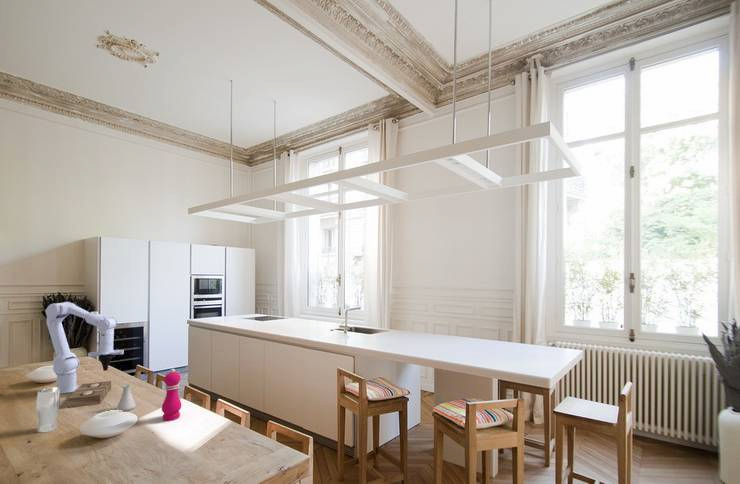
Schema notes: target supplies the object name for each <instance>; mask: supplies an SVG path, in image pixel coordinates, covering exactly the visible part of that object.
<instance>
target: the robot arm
mask: <svg viewBox="0 0 740 484" xmlns="http://www.w3.org/2000/svg"><path fill="white" fill-rule="evenodd" d="M70 314H71V315H74V316H77V317H79V318H82V319H85V322H86V323H87V324H90V325H91V326H94V327H97V329H98V331H99V348H98V349H99V351H92V352H91V351H90V352H88V353H87V358H91V357H92V358H93V357H98V360H99V361H100V364H101V366H102V370H103V371H108V370H109V365H110V363H111V360H112V358H113V357H114V355H115V356H116V355H124V353H125V352H124V351H125V350H124V349H114V338H115V337H114V336H115V328H116V327H117V325H118V324H117V323H118V322H117V319H116V318H114V317H112V316H110V317H108V316H107V315H102V314H100V313H99V312H98V311H91V312H90V311H88V310H86V309H83V308H82V307H80V306H78V305H76V304H75V303H72V302H70V301H64V302H59V303H51V304H49V305H48V306H47V308H46V309H45V315H46V325H47V329H48V333H49V337H50V340H51V342H52V346H53V349H54V352H55V355H56V356H55V358H54V359H53V360H52V363H53V366H52V370H53V372H54V374H55V376H56V384H55V385H56V386H55V387H59V388H60V395H61V394H69V393H70V394H71V393H74V392H75V391H76V390H77V389H78V388H79V387H80V385H77V379H78V378H77V373H76V372H77V369H78V368H80V359H79V358H78V357H77V355H76V353H73V352H72V351H71V349H70V346H69V343H68V341H67V337H66V336H67V335H66V333H65V330H64V327H63V326H64V325H63V324H62V322H64V319H65V318H67V316H69V315H70Z"/></svg>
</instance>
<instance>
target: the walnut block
mask: <svg viewBox="0 0 740 484" xmlns="http://www.w3.org/2000/svg"><path fill="white" fill-rule="evenodd" d="M91 384H100V386H98V387H89V385H91ZM111 390H112V380H109V381H108V380H107V381H99V382H89V383H82V384H81V385H79V387H78V388H77V389H76V390H75V391H74V392H72V394H71V395H70V396H69V397H68V398H67V406H66V408H67V409H71V408H79V407H86V406H88V407H89V406H95V405H96V406H97V405H100V404H101V403H102V402H103V401H104V400H105V399H106V396H107V395H108V393H109V392H110V391H111ZM87 391H93V394H91V395H82V396H81V394H82V393H83V392H87Z"/></svg>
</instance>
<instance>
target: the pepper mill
mask: <svg viewBox="0 0 740 484" xmlns="http://www.w3.org/2000/svg"><path fill="white" fill-rule="evenodd" d="M169 371H170V372H169V373H167V374H166V375H165V377H164V378H163V380H164V384H165V390H166V391H165V392H166V394H165V395H166V396H165V398H164V401H163V403H162V405H161V412H162V413H163V414H162V421H165V422H172V421H175V420H177V419H179V418H180V417H181V411H180V410H181V409H182V401H181V399H180V397H179V393H178V392H179V391H178V390H179V387H180V384H179V382H180V381H181V375H180V373H178V372H175V371H176V369H175V368H171V369H170V370H169Z"/></svg>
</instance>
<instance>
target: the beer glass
mask: <svg viewBox="0 0 740 484" xmlns="http://www.w3.org/2000/svg"><path fill="white" fill-rule="evenodd" d="M36 395H37V396H36V402H35V404H36V406H35V407H36V413H37V418H38V424H37V428H36V433H39V434H43V433H48V432H52V431H54V430H57V428H58V422H57V418H58V417H57V416H58V412H59V408H60V403H61V394H60V388H59V387H56V386H50V387H45V388H42V389H39V390H38V391H37V394H36Z"/></svg>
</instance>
